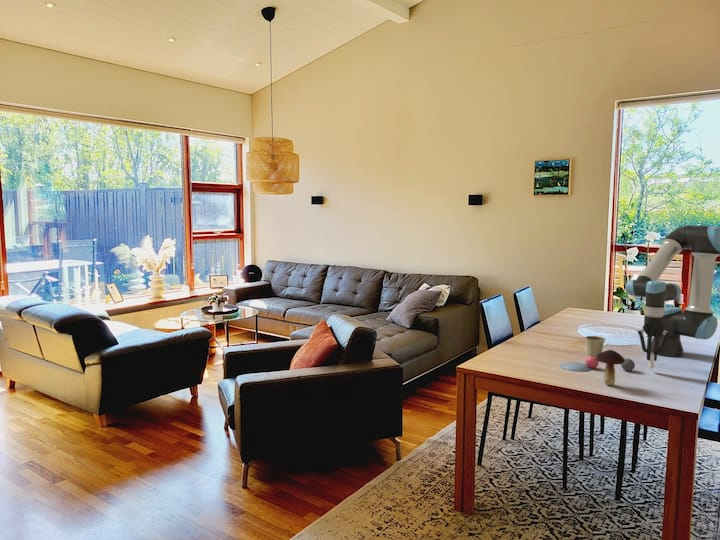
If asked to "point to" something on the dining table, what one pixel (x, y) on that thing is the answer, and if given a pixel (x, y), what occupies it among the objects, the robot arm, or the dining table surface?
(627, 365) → the grey ball
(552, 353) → the dining table surface
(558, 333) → the dining table surface
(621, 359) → the decorative mushroom
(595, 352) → the flower pot
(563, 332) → the dining table surface
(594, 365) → the cranberry ball
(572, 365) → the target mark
